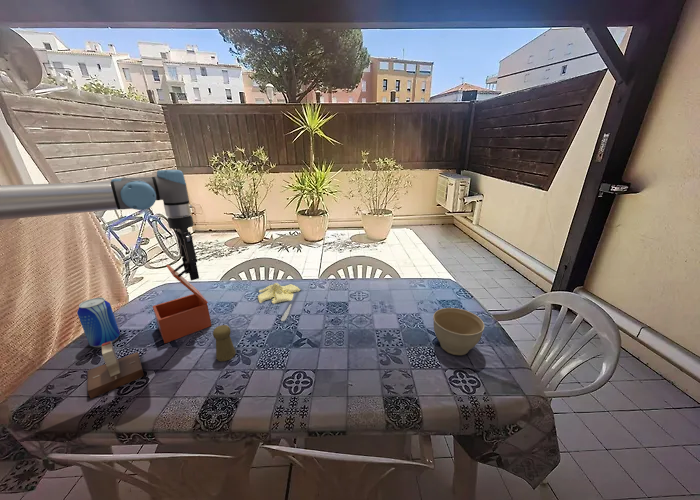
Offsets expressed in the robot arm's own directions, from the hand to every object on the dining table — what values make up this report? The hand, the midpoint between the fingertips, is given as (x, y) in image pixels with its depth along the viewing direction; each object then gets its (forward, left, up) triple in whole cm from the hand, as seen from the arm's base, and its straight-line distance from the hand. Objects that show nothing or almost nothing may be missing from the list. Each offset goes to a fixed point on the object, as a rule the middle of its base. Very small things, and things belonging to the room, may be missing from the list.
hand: (192, 275), depth 102 cm
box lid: (-2, -1, -3) cm, 4 cm away
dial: (-20, -23, -17) cm, 35 cm away
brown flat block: (-20, -23, -20) cm, 37 cm away
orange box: (-5, -2, -20) cm, 21 cm away
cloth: (+31, +12, -20) cm, 39 cm away
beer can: (-30, -1, -20) cm, 37 cm away
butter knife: (+36, 0, -20) cm, 41 cm away
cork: (+10, -25, -20) cm, 34 cm away
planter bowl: (+84, -50, -20) cm, 99 cm away
